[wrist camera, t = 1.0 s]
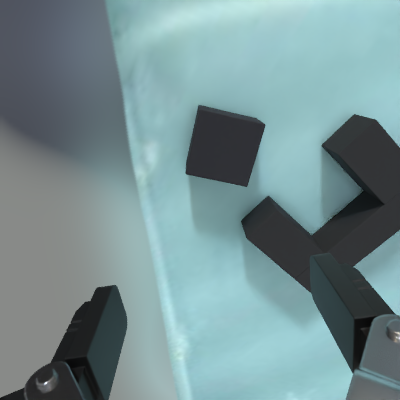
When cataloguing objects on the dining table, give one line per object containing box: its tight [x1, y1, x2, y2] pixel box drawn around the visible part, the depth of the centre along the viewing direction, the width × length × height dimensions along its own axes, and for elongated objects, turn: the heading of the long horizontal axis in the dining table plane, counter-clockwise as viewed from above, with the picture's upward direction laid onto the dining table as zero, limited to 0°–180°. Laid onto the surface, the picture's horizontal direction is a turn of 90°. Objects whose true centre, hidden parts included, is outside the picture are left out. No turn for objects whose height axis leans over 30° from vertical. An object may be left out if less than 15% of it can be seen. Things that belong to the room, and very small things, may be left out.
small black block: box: [186, 105, 265, 187], centre depth 30 cm, size 6×6×4 cm
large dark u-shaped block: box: [241, 114, 400, 293], centre depth 33 cm, size 11×16×4 cm
